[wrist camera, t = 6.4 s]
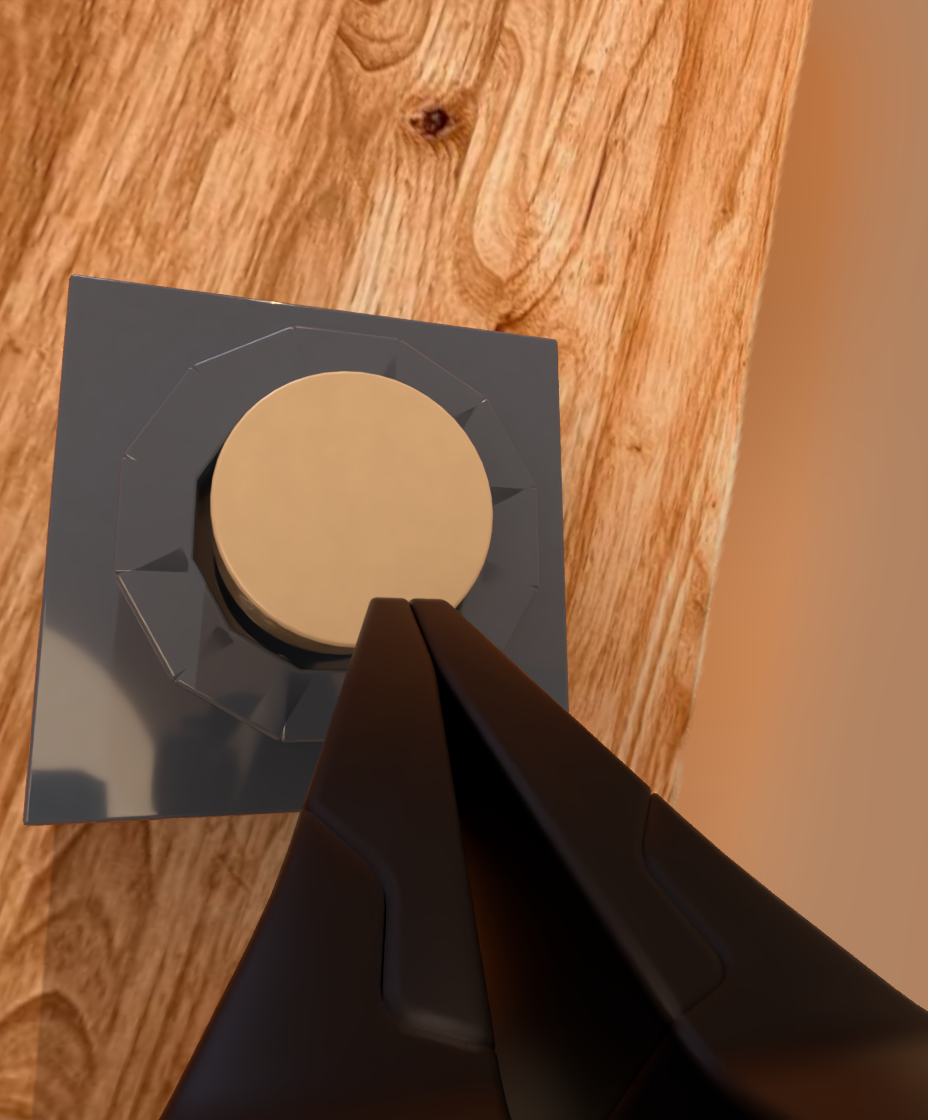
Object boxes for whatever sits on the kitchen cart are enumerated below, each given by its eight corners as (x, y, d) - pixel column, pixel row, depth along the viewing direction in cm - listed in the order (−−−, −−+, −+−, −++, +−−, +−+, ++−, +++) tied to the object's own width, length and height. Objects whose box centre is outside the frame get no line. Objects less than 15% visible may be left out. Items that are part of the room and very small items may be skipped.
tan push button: (459, 656, 14) (496, 649, 12) (205, 653, 13) (202, 646, 11) (457, 425, 15) (492, 384, 13) (217, 402, 14) (216, 353, 12)
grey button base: (490, 775, 21) (615, 811, 14) (76, 792, 18) (-9, 846, 11) (485, 416, 22) (594, 299, 16) (107, 378, 20) (49, 216, 13)
